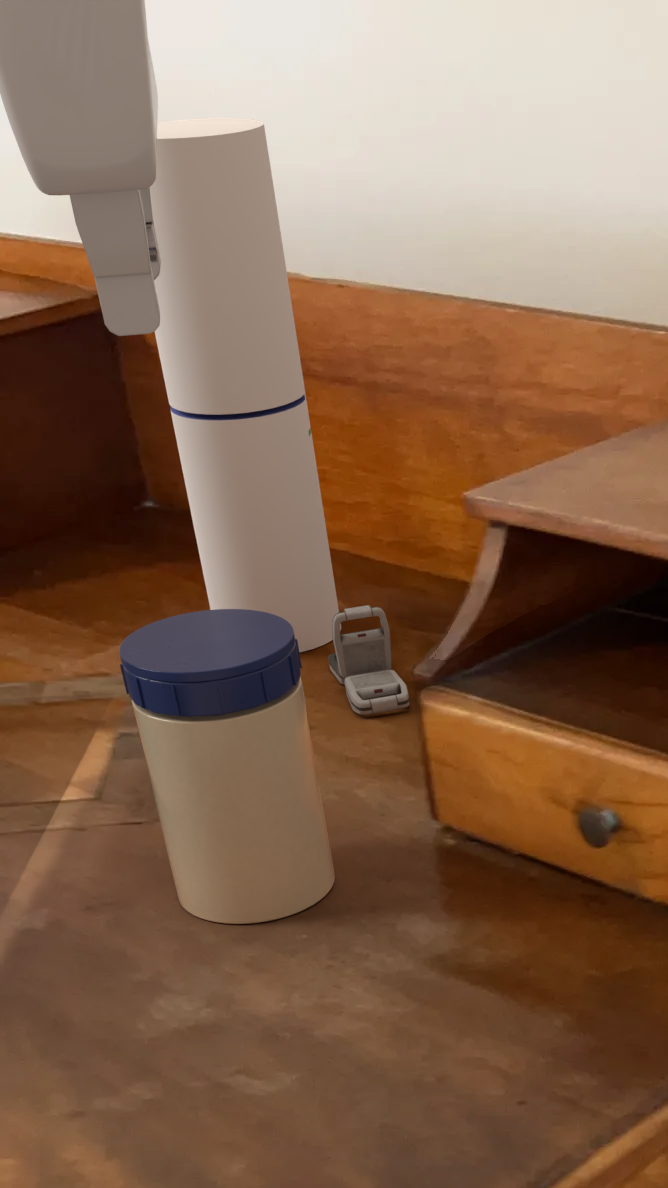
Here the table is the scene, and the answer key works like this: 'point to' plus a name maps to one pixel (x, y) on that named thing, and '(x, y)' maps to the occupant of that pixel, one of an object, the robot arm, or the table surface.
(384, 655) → the strap clip
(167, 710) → the lid
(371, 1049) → the table surface
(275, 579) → the cylindrical container
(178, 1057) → the table surface
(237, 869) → the jar
